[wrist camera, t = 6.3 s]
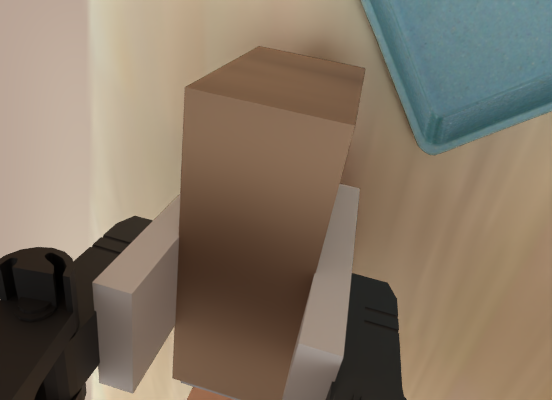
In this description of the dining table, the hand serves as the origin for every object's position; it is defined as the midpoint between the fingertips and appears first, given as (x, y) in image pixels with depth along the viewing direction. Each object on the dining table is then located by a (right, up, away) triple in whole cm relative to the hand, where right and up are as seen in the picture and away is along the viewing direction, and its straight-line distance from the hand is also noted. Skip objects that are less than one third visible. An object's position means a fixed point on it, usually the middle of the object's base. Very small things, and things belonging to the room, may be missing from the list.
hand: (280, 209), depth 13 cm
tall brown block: (0, -2, +2) cm, 3 cm away
